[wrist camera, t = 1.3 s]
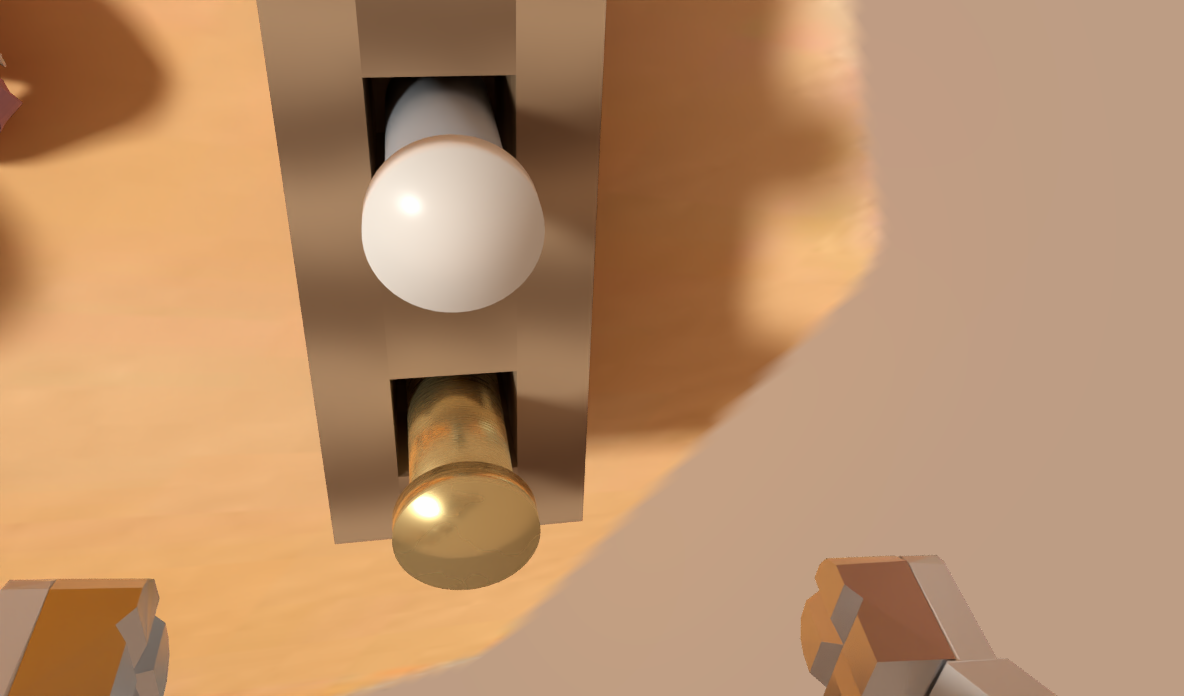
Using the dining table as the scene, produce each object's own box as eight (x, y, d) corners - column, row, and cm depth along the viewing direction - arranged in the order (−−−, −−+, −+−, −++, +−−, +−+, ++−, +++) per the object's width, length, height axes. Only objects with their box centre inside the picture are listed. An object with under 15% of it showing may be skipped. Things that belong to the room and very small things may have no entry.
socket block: (555, 406, 47) (582, 520, 41) (341, 421, 46) (334, 544, 39) (566, -86, 35) (608, -35, 29) (277, -89, 34) (251, -36, 27)
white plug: (507, 167, 36) (543, 307, 28) (373, 171, 35) (369, 317, 27) (505, 34, 33) (546, 146, 25) (360, 35, 32) (352, 151, 24)
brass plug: (509, 407, 42) (539, 582, 34) (394, 416, 41) (397, 596, 33) (508, 311, 39) (541, 475, 31) (386, 318, 38) (386, 488, 30)
